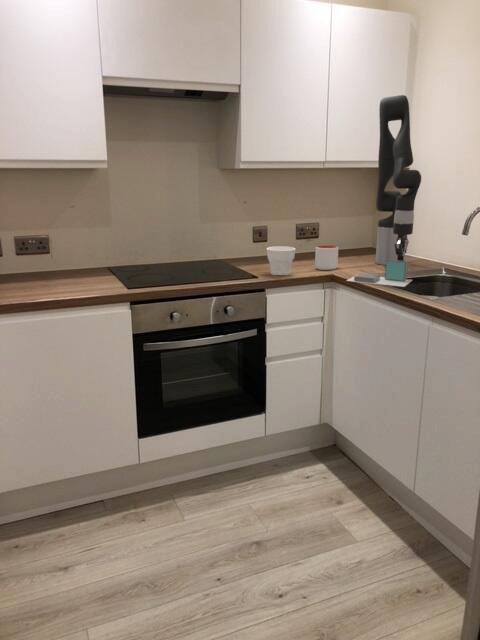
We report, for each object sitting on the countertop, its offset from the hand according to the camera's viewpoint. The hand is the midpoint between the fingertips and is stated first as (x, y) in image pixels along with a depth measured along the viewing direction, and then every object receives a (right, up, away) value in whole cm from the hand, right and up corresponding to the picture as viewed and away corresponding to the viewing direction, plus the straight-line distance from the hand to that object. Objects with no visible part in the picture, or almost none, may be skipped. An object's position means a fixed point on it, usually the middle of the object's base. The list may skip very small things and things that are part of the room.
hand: (400, 264), depth 210 cm
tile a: (-12, -5, 0) cm, 13 cm away
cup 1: (-48, -3, +12) cm, 49 cm away
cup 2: (-26, 0, +23) cm, 35 cm away
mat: (-10, -7, -4) cm, 12 cm away
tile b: (-3, -7, -4) cm, 8 cm away
